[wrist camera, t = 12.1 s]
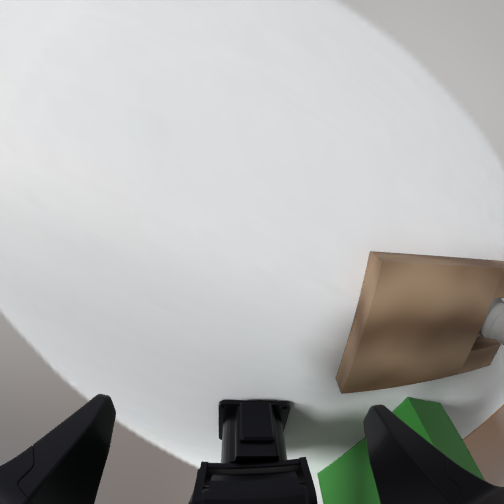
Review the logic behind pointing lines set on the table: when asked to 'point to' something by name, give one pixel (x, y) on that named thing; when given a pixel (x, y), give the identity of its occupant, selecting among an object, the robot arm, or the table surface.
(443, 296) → the notched board
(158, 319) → the table surface
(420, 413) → the green open box
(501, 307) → the rook chess piece
